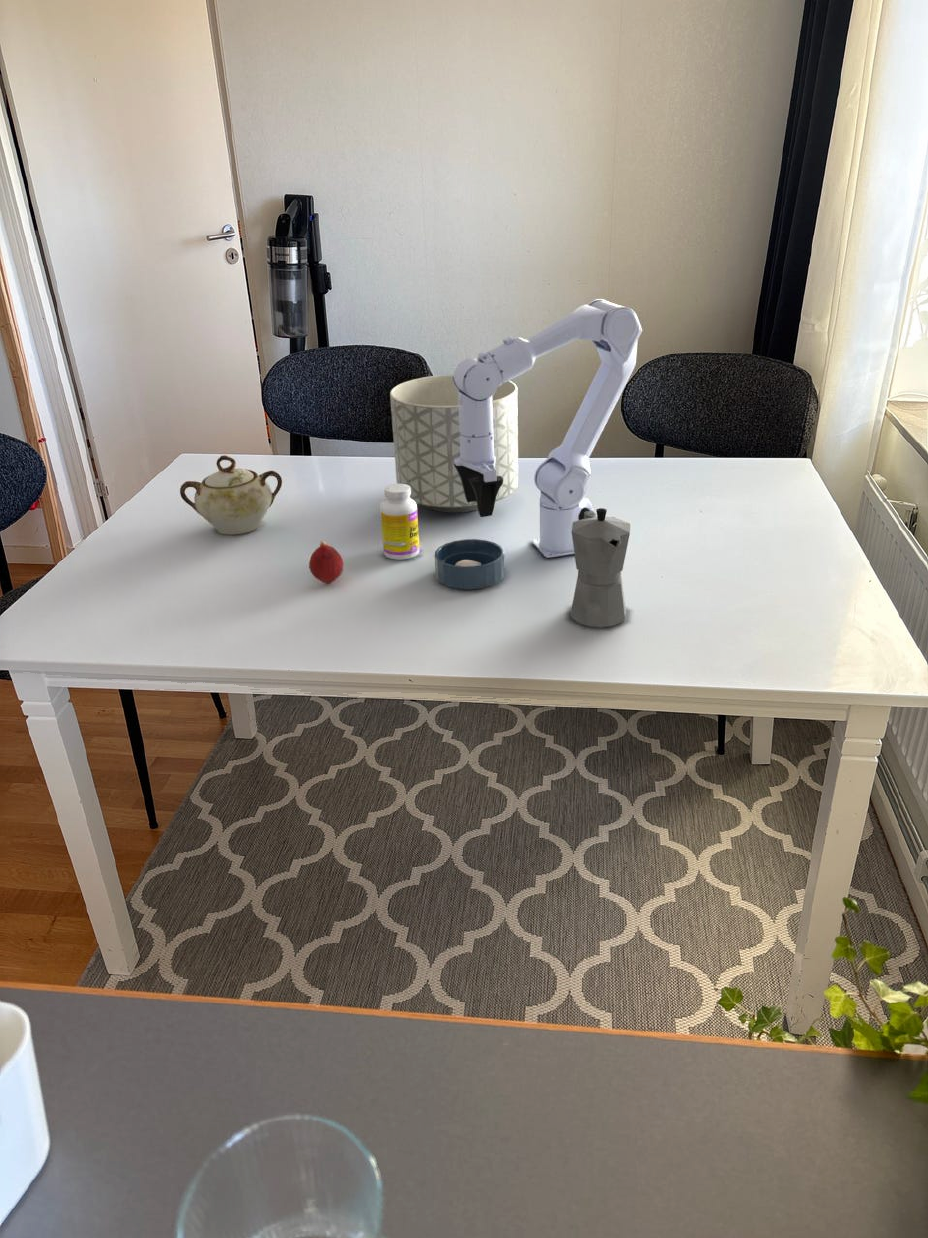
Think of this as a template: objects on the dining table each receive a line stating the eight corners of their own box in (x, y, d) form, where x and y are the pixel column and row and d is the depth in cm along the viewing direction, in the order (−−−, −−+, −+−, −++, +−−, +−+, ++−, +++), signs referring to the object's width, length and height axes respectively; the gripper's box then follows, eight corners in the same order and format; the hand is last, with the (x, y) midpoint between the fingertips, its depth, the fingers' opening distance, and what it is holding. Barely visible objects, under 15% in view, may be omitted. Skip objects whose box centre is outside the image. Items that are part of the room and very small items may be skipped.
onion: (350, 578, 166) (346, 536, 162) (336, 592, 161) (331, 549, 157) (321, 575, 168) (316, 533, 164) (305, 588, 163) (300, 546, 159)
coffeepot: (641, 629, 145) (648, 520, 137) (583, 638, 144) (586, 528, 135) (606, 587, 159) (610, 486, 150) (552, 595, 157) (553, 492, 149)
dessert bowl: (492, 558, 171) (491, 535, 169) (514, 585, 161) (513, 561, 159) (428, 568, 169) (427, 545, 166) (446, 596, 158) (445, 571, 156)
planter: (543, 503, 195) (543, 387, 184) (450, 536, 181) (444, 414, 170) (465, 475, 212) (461, 367, 201) (374, 503, 198) (364, 390, 187)
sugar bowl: (185, 547, 181) (171, 472, 174) (189, 519, 194) (176, 448, 187) (289, 535, 185) (279, 461, 178) (285, 508, 198) (276, 439, 191)
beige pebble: (450, 573, 165) (450, 560, 164) (473, 565, 168) (473, 552, 166) (465, 581, 162) (464, 568, 161) (488, 573, 164) (488, 560, 163)
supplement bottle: (414, 562, 171) (410, 495, 165) (379, 560, 172) (374, 493, 166) (423, 547, 177) (419, 482, 171) (389, 545, 178) (384, 480, 172)
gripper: (442, 424, 164) (445, 497, 171) (466, 447, 152) (469, 526, 158) (480, 419, 166) (483, 492, 172) (507, 442, 154) (509, 520, 160)
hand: (479, 508), depth 165 cm, fingers open, 7 cm apart
